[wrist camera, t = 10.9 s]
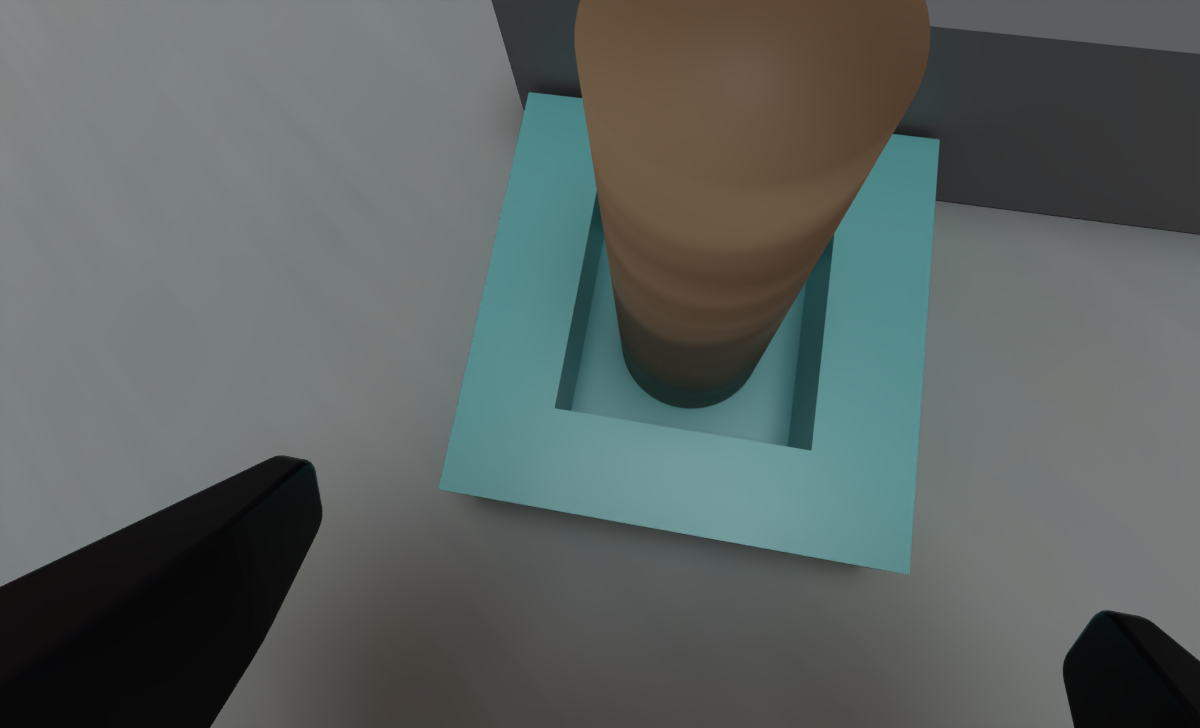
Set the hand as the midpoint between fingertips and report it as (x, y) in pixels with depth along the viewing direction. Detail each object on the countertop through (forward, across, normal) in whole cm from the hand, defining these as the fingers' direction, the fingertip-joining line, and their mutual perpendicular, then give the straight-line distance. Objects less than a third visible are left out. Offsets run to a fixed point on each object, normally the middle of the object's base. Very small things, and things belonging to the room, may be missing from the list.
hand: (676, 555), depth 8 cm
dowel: (+12, 0, +4) cm, 12 cm away
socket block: (+13, 0, +4) cm, 13 cm away
